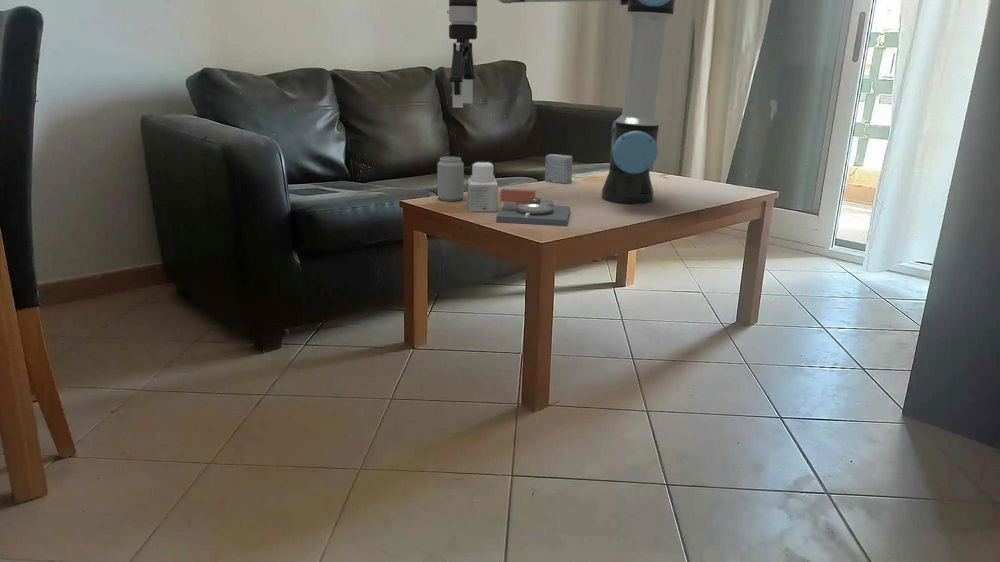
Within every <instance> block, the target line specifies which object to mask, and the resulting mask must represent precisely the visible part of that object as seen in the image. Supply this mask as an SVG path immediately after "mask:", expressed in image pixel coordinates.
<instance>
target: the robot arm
mask: <svg viewBox="0 0 1000 562" xmlns="http://www.w3.org/2000/svg"><path fill="white" fill-rule="evenodd" d="M498 1H499V2H501V3H502V4H513V3H551V2H552V3H558V2H559V3H562V2H564V3H565V2H566V3H567V2H568V3H569V2H571V3H573V2H616V3H617V4H618V5H620V6H628V7H627V13H626V14H627V15H628V16H629V17H630V19H631V20H632V22H631V29H630V30H631V32H630V40H629V50H628V57H627V59H628V60H627V68H626V75H625V76H626V77H625V84H624V94H623V103H622V111H621V112H622V114H621V115H620V116H619V117H618V118H617V119H615V120H614V121H613V123H612V127H611V142H610V143H611V145H610V155H609V156H610V157H609V158H610V159H609V172H608V174H607V177H606V179H605V181H604V184H603V187H602V189H601V198H602V199H603V200H605V201H608V202H613V203H620V204H646V203H651V202H652V201H653V200H654V189H653V185H652V181H651V176H650V171H651V169H650V168H651V167H652V166H653V165H654V163H655V162H656V160H657V157H658V153H659V152H658V151H659V150H658V145H657V144H658V143H657V142H658V138H659V137H658V135H659V127H660V122H659V121H658V120H657V119H656V117H655V113H656V106H657V96H658V88H659V83H660V81H659V80H660V75H661V74H660V73H661V66H662V65H661V64H662V59H663V57H662V56H663V50H664V41H665V34H666V24H667V23H668V21H669V20H670V19H671V18H672V17H673V16H674V9H675V3H676V0H498ZM446 14H448V21H449V22H450V23H451V24H449V25H448V37H449V39H450V40H456V42H453V44H452V46H453V47H452V51H453V52H452V60H451V72H450V78H448V79H449V83H452V108H454V109H455V108H457V109H459V108H461V109H463V108H464V104H473V102H474V100H473V99H474V97H473V94H474V92H473V90H474V86H473V85H474V82H473V81H474V80H476V75H475V69H474V57H473V42H470V40H476V39H477V38H478V26H477V24H476V23H477V22H478V0H448V9H447V10H446Z"/></svg>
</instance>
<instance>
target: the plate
mask: <svg viewBox="0 0 1000 562" xmlns="http://www.w3.org/2000/svg"><path fill="white" fill-rule="evenodd" d="M570 212H571V206H570V205H555V204H554V209H553V212H552V213H548V214H530V213H526V214H525V213H520V212H518V211H516V202H503V205H502V207H501V208H500V210H499V212H498V213H497V215H496V217H495V220H496V221H495V222H496V223H510V224H528V225H540V226H541V225H544V226H559V227H560V226H561V227H562V226H563V227H567V226H568V222H569V217H570Z"/></svg>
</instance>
